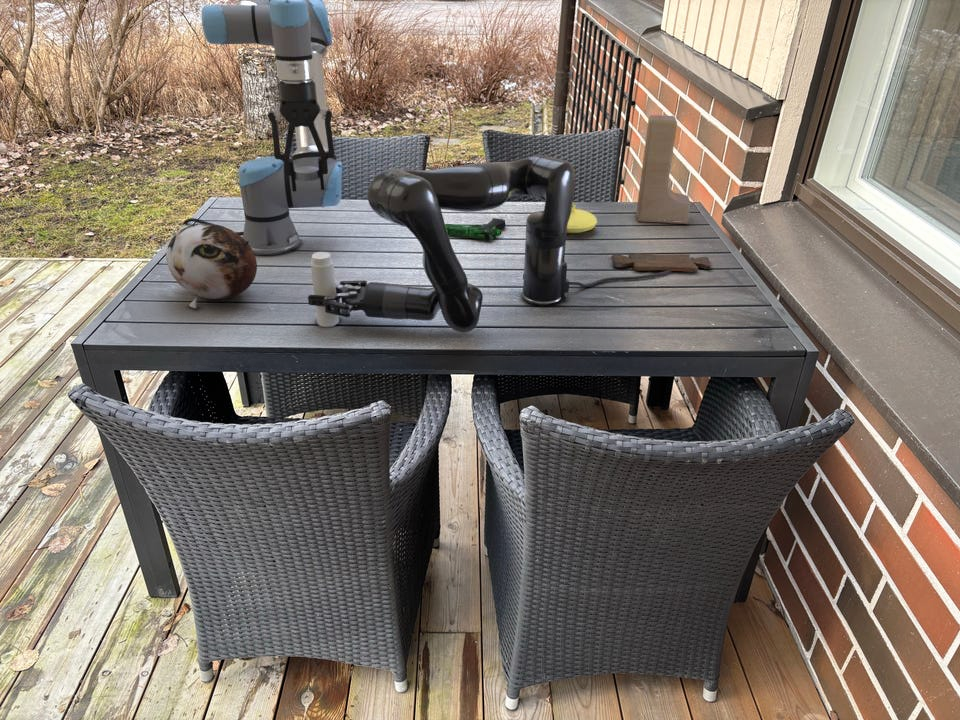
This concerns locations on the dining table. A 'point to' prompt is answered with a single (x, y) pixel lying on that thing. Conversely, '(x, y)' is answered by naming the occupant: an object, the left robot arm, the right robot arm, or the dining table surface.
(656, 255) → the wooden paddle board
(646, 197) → the decorative block
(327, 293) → the jar
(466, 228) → the handgun
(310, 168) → the lid
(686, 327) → the dining table surface
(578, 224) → the yellow rounded piece
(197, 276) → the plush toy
